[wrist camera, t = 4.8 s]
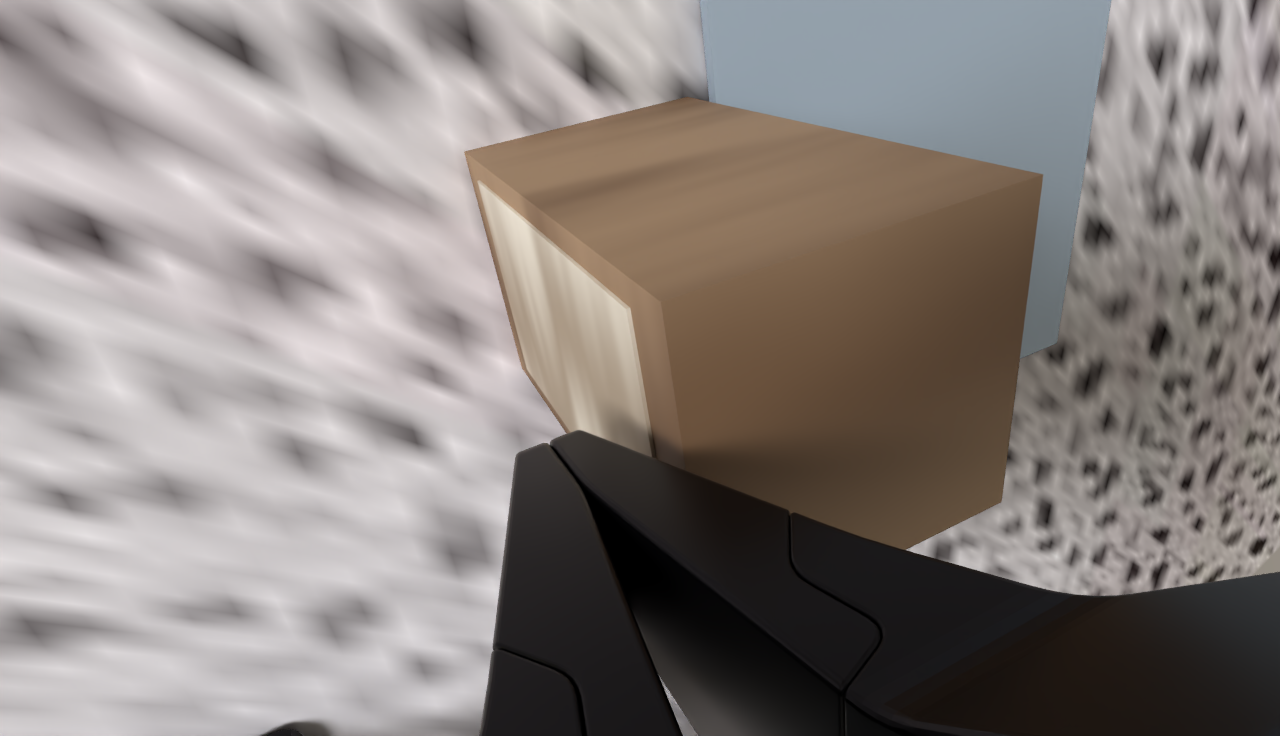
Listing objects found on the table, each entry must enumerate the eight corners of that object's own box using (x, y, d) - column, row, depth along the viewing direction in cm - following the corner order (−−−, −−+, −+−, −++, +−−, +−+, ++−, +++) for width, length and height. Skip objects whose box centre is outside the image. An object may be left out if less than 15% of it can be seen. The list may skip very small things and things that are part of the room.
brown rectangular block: (709, 303, 18) (1001, 502, 11) (519, 368, 17) (708, 648, 10) (687, 96, 16) (1044, 174, 8) (461, 152, 14) (656, 302, 7)
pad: (1049, 339, 25) (1056, 343, 24) (744, 468, 21) (749, 474, 21) (1142, -271, 17) (1154, -275, 16) (678, -224, 13) (686, -229, 13)
